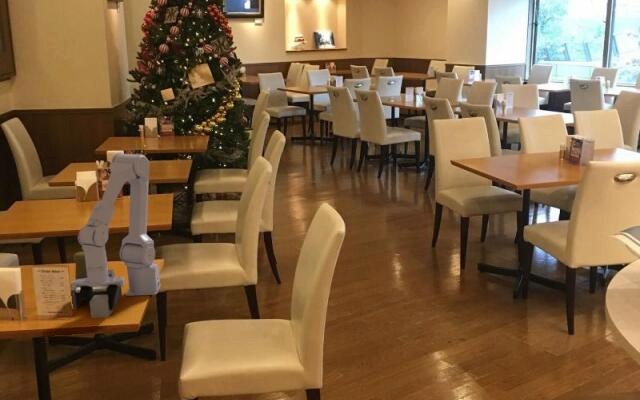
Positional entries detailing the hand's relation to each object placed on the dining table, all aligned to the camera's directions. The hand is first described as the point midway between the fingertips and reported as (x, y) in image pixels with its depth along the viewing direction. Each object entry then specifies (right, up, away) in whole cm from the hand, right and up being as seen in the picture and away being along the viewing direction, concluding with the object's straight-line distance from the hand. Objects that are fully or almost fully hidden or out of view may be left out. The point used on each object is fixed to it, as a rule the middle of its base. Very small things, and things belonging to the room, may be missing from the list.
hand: (102, 309), depth 193 cm
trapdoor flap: (-5, +5, +9) cm, 11 cm away
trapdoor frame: (-4, +1, +9) cm, 10 cm away
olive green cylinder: (-13, +4, +23) cm, 27 cm away
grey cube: (0, -1, 0) cm, 2 cm away
